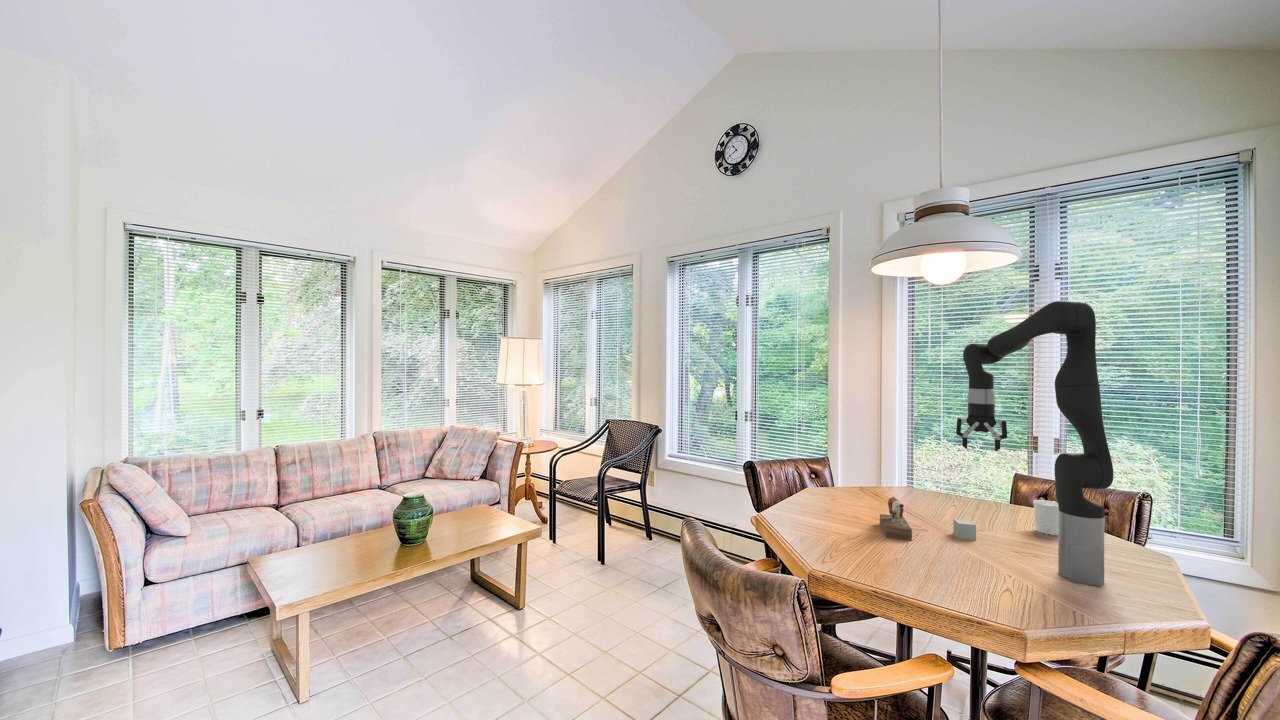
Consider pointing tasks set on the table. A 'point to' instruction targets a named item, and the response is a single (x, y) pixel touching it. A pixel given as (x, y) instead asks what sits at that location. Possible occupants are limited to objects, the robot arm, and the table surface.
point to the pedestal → (895, 528)
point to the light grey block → (1046, 516)
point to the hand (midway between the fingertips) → (980, 449)
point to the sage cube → (964, 529)
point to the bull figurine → (895, 509)
